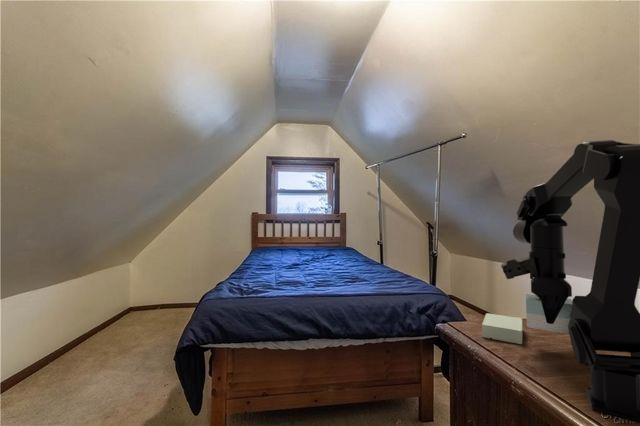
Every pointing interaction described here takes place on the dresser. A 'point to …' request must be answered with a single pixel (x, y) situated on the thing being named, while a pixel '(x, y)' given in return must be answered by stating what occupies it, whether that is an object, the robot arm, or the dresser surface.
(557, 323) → the grey-blue rectangular block
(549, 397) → the dresser surface
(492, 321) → the sage stand
